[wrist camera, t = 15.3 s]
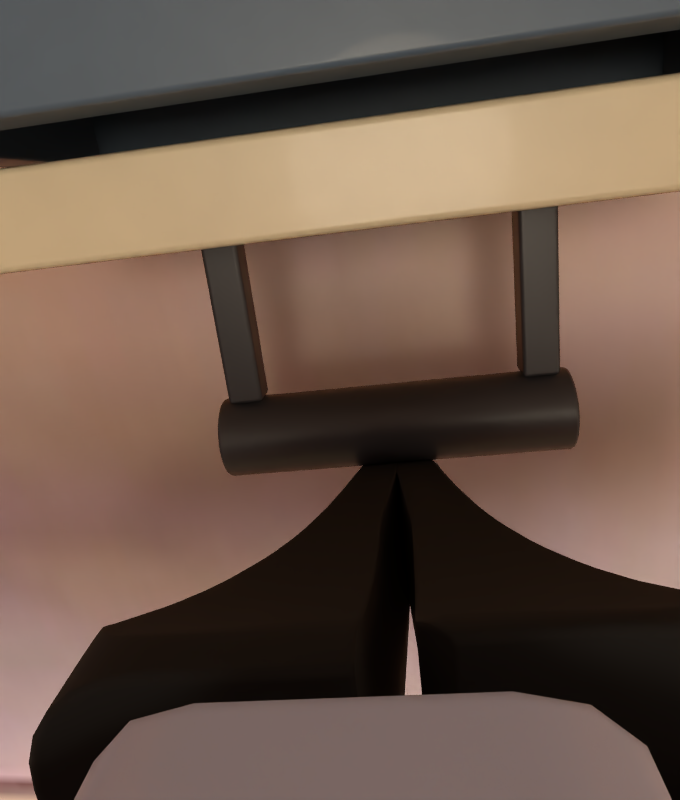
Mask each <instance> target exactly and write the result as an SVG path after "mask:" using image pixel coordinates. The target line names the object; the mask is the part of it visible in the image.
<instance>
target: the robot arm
mask: <svg viewBox="0 0 680 800" xmlns="http://www.w3.org/2000/svg"><path fill="white" fill-rule="evenodd" d="M410 607H411V613H412V619H413V625H414V630H415V636H416V642H417V647H418V656H419V667H420V677H421V687H422V695H405V679H406V663H407V647H408V630H409V613H410ZM29 766H30V771H31V776H32V781H33V786H34V791H35V794H36V796H37V799H38V800H680V590H679V589H674V588H670V587H665V586H660V585H656V584H651V583H646V582H641V581H637V580H634V579H630V578H627V577H623V576H620V575H617V574H613V573H610V572H607V571H604V570H600V569H597V568H594V567H591V566H589V565H586V564H583V563H580V562H578V561H575V560H572V559H570V558H568V557H565V556H563V555H561V554H559V553H556V552H554V551H552V550H549V549H547V548H545V547H543V546H541V545H539V544H537V543H535V542H533V541H531V540H529V539H527V538H525V537H524V536H522V535H520V534H519V533H517V532H515V531H513V530H512V529H510V528H508V527H507V526H505V525H503V524H502V523H500V522H499V521H497V520H496V519H494V518H493V517H492V516H490V515H489V514H488V513H487V512H485V511H484V510H483V509H481V508H480V507H479V506H478V505H476V504H475V503H474V502H473V501H472V500H471V499H470V498H469V497H468V496H467V495H465V494H464V493H463V492H462V491H461V490H460V489H459V488H458V487H457V486H456V485H455V484H454V483H453V482H452V481H451V480H450V479H449V478H448V476H447V475H446V474H445V473H444V472H443V471H442V469H441V468H440V467H439V466H438V464H437V463H435V462H434V461H433V460H423V461H411V462H398V463H386V464H373V465H363V466H362V467H361V469H360V470H359V471H358V472H357V473H356V474H355V476H354V477H353V478H352V479H351V480H350V482H349V483H348V484H347V485H346V487H345V488H344V489H343V490H342V491H341V493H340V494H339V495H338V496H337V497H336V498H335V499H334V500H333V501H332V503H331V504H330V505H329V506H328V507H327V508H326V509H325V510H324V511H323V512H322V513H321V514H320V515H319V516H318V517H317V518H316V519H315V520H314V521H312V522H311V523H310V524H309V525H308V526H307V527H306V528H305V529H304V530H303V531H302V532H300V533H299V534H298V535H297V536H295V537H294V538H293V539H292V540H290V541H289V542H288V543H286V544H285V545H284V546H282V547H281V548H279V549H278V550H277V551H275V552H274V553H272V554H271V555H269V556H268V557H266V558H265V559H263V560H261V561H260V562H258V563H256V564H254V565H253V566H251V567H249V568H248V569H246V570H244V571H242V572H241V573H239V574H237V575H235V576H234V577H232V578H230V579H228V580H226V581H224V582H222V583H220V584H218V585H216V586H214V587H212V588H210V589H208V590H206V591H203V592H201V593H199V594H196V595H194V596H192V597H189V598H187V599H185V600H182V601H180V602H177V603H175V604H172V605H169V606H167V607H164V608H161V609H158V610H155V611H152V612H149V613H146V614H143V615H140V616H137V617H134V618H131V619H128V620H125V621H122V622H119V623H115V624H112V625H108V626H105V627H103V628H102V629H101V630H100V632H99V633H98V635H97V636H96V637H95V639H94V640H93V642H92V643H91V645H90V646H89V647H88V649H87V650H86V652H85V653H84V655H83V656H82V658H81V659H80V661H79V662H78V664H77V665H76V667H75V668H74V670H73V672H72V673H71V675H70V676H69V678H68V679H67V681H66V682H65V684H64V685H63V687H62V689H61V690H60V692H59V693H58V695H57V696H56V698H55V699H54V701H53V702H52V704H51V706H50V707H49V709H48V710H47V712H46V714H45V715H44V717H43V719H42V721H41V722H40V724H39V726H38V728H37V730H36V731H35V733H34V735H33V739H32V745H31V752H30V759H29Z"/></svg>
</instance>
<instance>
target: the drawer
mask: <svg viewBox="0 0 680 800" xmlns="http://www.w3.org/2000/svg"><path fill="white" fill-rule="evenodd" d="M678 191H680V72H679V73H672V74H665V75H658V76H651V77H644V78H637V79H630V80H623V81H616V82H609V83H601V84H594V85H587V86H580V87H573V88H566V89H559V90H552V91H545V92H538V93H531V94H524V95H517V96H510V97H503V98H496V99H488V100H481V101H474V102H467V103H460V104H453V105H446V106H439V107H432V108H425V109H418V110H411V111H404V112H397V113H390V114H383V115H375V116H368V117H361V118H354V119H347V120H340V121H333V122H326V123H319V124H312V125H305V126H298V127H291V128H284V129H277V130H270V131H262V132H255V133H248V134H241V135H234V136H227V137H220V138H213V139H206V140H199V141H192V142H185V143H178V144H171V145H164V146H157V147H149V148H142V149H135V150H128V151H121V152H114V153H107V154H100V155H93V156H86V157H79V158H72V159H65V160H58V161H51V162H44V163H36V164H29V165H22V166H15V167H8V168H1V169H0V274H5V273H13V272H21V271H29V270H37V269H46V268H54V267H62V266H70V265H79V264H87V263H95V262H103V261H111V260H120V259H128V258H136V257H144V256H152V255H161V254H169V253H177V252H185V251H193V250H201V251H202V257H203V262H204V267H205V273H206V278H207V283H208V289H209V294H210V299H211V305H212V310H213V315H214V321H215V326H216V331H217V337H218V342H219V348H220V353H221V358H222V364H223V369H224V374H225V380H226V385H227V390H228V396H229V399H227V400H225V401H224V402H223V403H222V405H221V408H220V413H219V419H218V439H219V448H220V453H221V457H222V460H223V463H224V466H225V468H226V470H227V472H228V473H229V474H231V475H233V476H237V475H250V474H262V473H275V472H287V471H299V470H312V469H324V468H337V467H349V466H362V465H373V464H386V463H398V462H411V461H423V460H436V459H449V458H461V457H474V456H486V455H499V454H511V453H523V452H536V451H548V450H561V449H571V448H573V447H575V445H576V443H577V440H578V436H579V427H580V415H579V403H578V397H577V392H576V388H575V384H574V381H573V378H572V376H571V374H570V372H569V371H568V370H567V369H566V368H563V367H560V335H559V257H558V206H563V205H571V204H579V203H588V202H596V201H604V200H612V199H620V198H629V197H637V196H645V195H653V194H662V193H670V192H678ZM506 212H512V231H513V260H514V289H515V317H516V346H517V366H518V368H519V370H520V371H517V372H507V373H496V374H485V375H475V376H464V377H454V378H443V379H432V380H422V381H411V382H401V383H390V384H379V385H369V386H358V387H348V388H337V389H326V390H316V391H305V392H295V393H284V394H273V395H265V394H266V393H267V390H268V388H267V382H266V376H265V370H264V364H263V358H262V352H261V345H260V339H259V333H258V327H257V321H256V315H255V309H254V303H253V297H252V291H251V285H250V279H249V273H248V267H247V261H246V255H245V249H244V244H251V243H259V242H267V241H276V240H284V239H292V238H300V237H308V236H317V235H325V234H333V233H341V232H350V231H358V230H366V229H374V228H382V227H391V226H399V225H407V224H415V223H423V222H432V221H440V220H448V219H456V218H464V217H473V216H481V215H489V214H497V213H506Z"/></svg>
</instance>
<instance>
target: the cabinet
mask: <svg viewBox="0 0 680 800" xmlns="http://www.w3.org/2000/svg"><path fill="white" fill-rule="evenodd" d="M679 72H680V0H0V167H6V168H8V167H15V166H22V165H29V164H36V163H44V162H51V161H58V160H65V159H72V158H79V157H86V156H93V155H100V154H107V153H114V152H121V151H128V150H135V149H142V148H149V147H157V146H164V145H171V144H178V143H185V142H192V141H199V140H206V139H213V138H220V137H227V136H234V135H241V134H248V133H255V132H262V131H270V130H277V129H284V128H291V127H298V126H305V125H312V124H319V123H326V122H333V121H340V120H347V119H354V118H361V117H368V116H375V115H383V114H390V113H397V112H404V111H411V110H418V109H425V108H432V107H439V106H446V105H453V104H460V103H467V102H474V101H481V100H488V99H496V98H503V97H510V96H517V95H524V94H531V93H538V92H545V91H552V90H559V89H566V88H573V87H580V86H587V85H594V84H601V83H609V82H616V81H623V80H630V79H637V78H644V77H651V76H658V75H665V74H672V73H679Z"/></svg>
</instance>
